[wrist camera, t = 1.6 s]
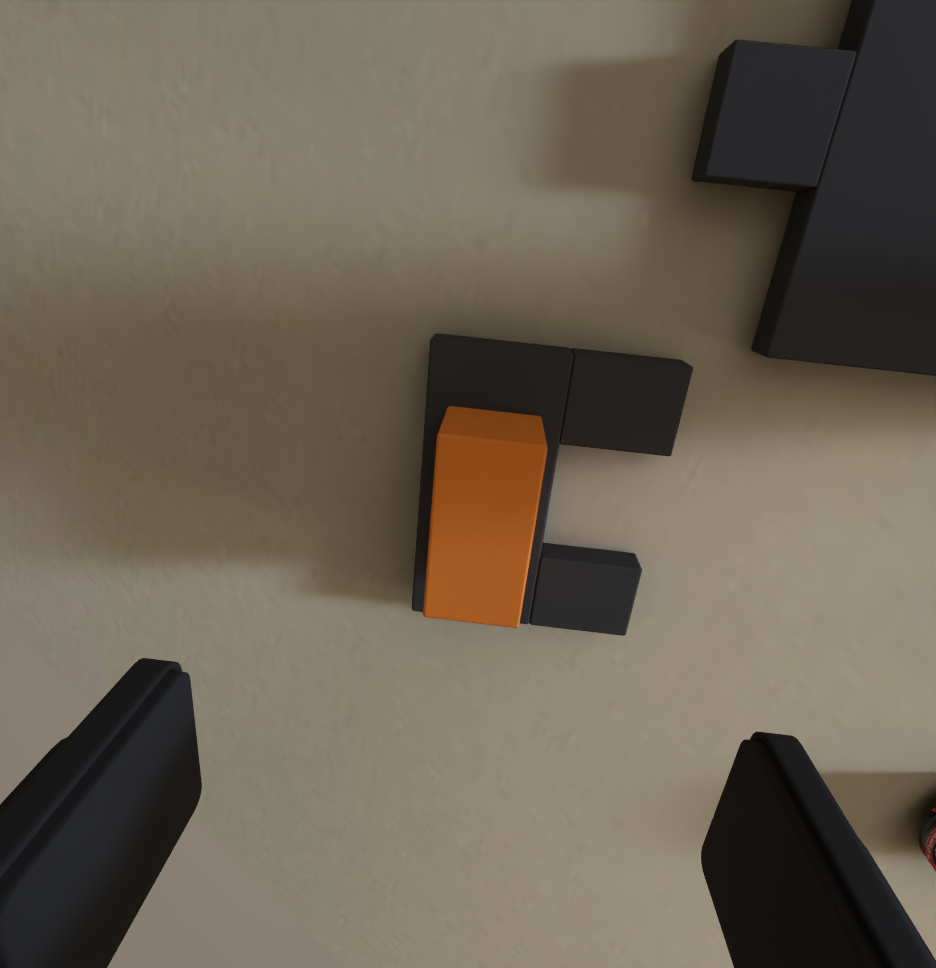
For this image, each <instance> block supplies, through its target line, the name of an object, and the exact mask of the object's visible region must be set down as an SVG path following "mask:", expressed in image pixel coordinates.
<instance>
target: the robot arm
mask: <svg viewBox="0 0 936 968" xmlns="http://www.w3.org/2000/svg"><path fill="white" fill-rule="evenodd" d="M201 789H202V783H201V774H200V764H199V755H198V746H197V737H196V728H195V719H194V710H193V700H192V691H191V682H190V676H189V674H188V673H187V672H182V669H181V666H180V664H179V663H178V662H172V661H164V660H156V659H147V658H142V659H140V660H138V661H137V662H136V663H135V664H134V665H133V666H132V667H131V668H130V669H129V670H128V671H127V672H126V674H125V675H124V676H123V677H122V678H121V679H120V680H119V681H118V682H117V683H116V685H115V686H114V687H113V688H112V689H111V690H110V691H109V692H108V693H107V694H106V696H105V697H104V698H103V699H102V700H101V701H100V702H99V703H98V704H97V706H96V707H95V708H94V709H93V710H92V711H91V712H90V713H89V714H88V715H87V717H86V718H85V719H84V720H83V721H82V722H81V723H80V724H79V725H78V727H77V728H76V729H75V730H74V731H73V732H72V733H71V734H70V735H69V736H68V737H67V738H65V739H63V740H61V741H60V742H59V743H58V744H56V745H55V746H54V747H53V748H52V749H51V750H50V751H49V752H48V753H47V754H46V755H45V756H44V758H43V759H42V760H41V761H40V762H39V763H38V764H37V765H36V766H35V767H34V768H33V770H32V771H31V772H30V773H29V774H28V775H27V776H26V777H25V778H24V779H23V781H22V782H21V783H20V784H19V785H18V786H17V787H16V788H15V789H14V790H13V791H12V792H11V793H10V795H9V796H8V797H7V798H6V799H5V800H4V801H3V802H2V803H1V805H0V968H107V966H108V965H109V963H110V961H111V960H112V958H113V956H114V954H115V952H116V951H117V949H118V947H119V945H120V943H121V942H122V940H123V938H124V936H125V934H126V933H127V931H128V929H129V927H130V925H131V924H132V922H133V920H134V918H135V917H136V915H137V913H138V911H139V909H140V908H141V906H142V904H143V902H144V900H145V899H146V897H147V895H148V893H149V891H150V890H151V888H152V886H153V884H154V883H155V881H156V879H157V877H158V875H159V873H160V872H161V870H162V868H163V866H164V865H165V863H166V861H167V859H168V857H169V856H170V854H171V852H172V850H173V848H174V846H175V845H176V843H177V841H178V840H179V838H180V836H181V834H182V832H183V831H184V829H185V827H186V825H187V823H188V822H189V820H190V818H191V816H192V814H193V813H194V811H195V809H196V807H197V804H198V802H199V799H200V795H201ZM701 862H702V869H703V873H704V876H705V879H706V882H707V885H708V888H709V891H710V895H711V898H712V901H713V904H714V907H715V910H716V913H717V916H718V919H719V922H720V925H721V928H722V932H723V935H724V938H725V941H726V944H727V947H728V950H729V953H730V956H731V959H732V962H733V965H734V968H936V960H935V958H934V957H933V955H932V954H931V952H930V950H929V949H928V947H927V945H926V944H925V942H924V940H923V939H922V937H921V936H920V934H919V932H918V931H917V929H916V927H915V926H914V924H913V923H912V921H911V919H910V918H909V916H908V914H907V913H906V911H905V910H904V908H903V906H902V905H901V903H900V901H899V900H898V898H897V897H896V895H895V893H894V892H893V890H892V888H891V887H890V885H889V884H888V882H887V880H886V879H885V877H884V875H883V874H882V872H881V870H880V869H879V867H878V866H877V864H876V862H875V861H874V859H873V857H872V856H871V854H870V853H869V851H868V849H867V848H866V847H865V845H864V844H863V843H862V841H861V840H860V839H859V838H858V836H857V835H856V833H855V832H854V830H853V828H852V827H851V825H850V823H849V822H848V820H847V818H846V817H845V815H844V814H843V812H842V810H841V809H840V807H839V805H838V804H837V802H836V800H835V799H834V797H833V795H832V794H831V792H830V791H829V789H828V787H827V786H826V784H825V782H824V781H823V779H822V777H821V776H820V774H819V773H818V771H817V769H816V768H815V766H814V764H813V763H812V761H811V759H810V758H809V756H808V755H807V753H806V751H805V750H804V748H803V746H802V745H801V743H800V742H799V741H798V740H797V739H796V738H795V737H793V736H789V735H781V734H773V733H764V732H755V733H754V734H753V735H752V737H751V738H750V740H743V741H742V743H741V744H740V747H739V749H738V752H737V755H736V758H735V760H734V763H733V766H732V768H731V771H730V774H729V776H728V779H727V782H726V784H725V787H724V790H723V792H722V795H721V798H720V801H719V803H718V806H717V809H716V811H715V814H714V817H713V819H712V822H711V825H710V827H709V830H708V833H707V835H706V838H705V841H704V844H703V846H702V852H701Z"/></svg>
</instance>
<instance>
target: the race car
mask: <svg viewBox="0 0 936 968" xmlns="http://www.w3.org/2000/svg"><path fill="white" fill-rule="evenodd" d="M919 844H920V848H921V850H922V852H923V853H924V855H925V856H926V857H927V859H928V861H929V862H930V863H931V865H932V866H933V868H934V870H935V871H936V806H935V807H934V808H933V809H932V810H931V812H930V813H929V814H928V815H927V817H926V818H925V820H924V821H923V823H922V826H921V828H920V831H919Z"/></svg>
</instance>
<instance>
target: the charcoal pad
mask: <svg viewBox="0 0 936 968" xmlns="http://www.w3.org/2000/svg"><path fill="white" fill-rule="evenodd" d="M692 180H693V181H699V182H709V183H719V184H729V185H739V186H748V187H758V188H768V189H778V190H787V191H797V193H796V197H795V200H794V204H793V207H792V211H791V214H790V217H789V221H788V224H787V228H786V231H785V235H784V238H783V242H782V245H781V249H780V252H779V256H778V259H777V262H776V266H775V269H774V273H773V276H772V280H771V283H770V287H769V290H768V294H767V297H766V301H765V304H764V308H763V311H762V314H761V318H760V321H759V325H758V328H757V332H756V335H755V339H754V342H753V346H752V351H753V352H756V353H758V354H760V355H763V356H765V357H768V358H777V359H787V360H796V361H805V362H814V363H824V364H833V365H842V366H851V367H861V368H870V369H879V370H888V371H898V372H907V373H916V374H925V375H935V376H936V0H852V3H851V6H850V10H849V13H848V17H847V20H846V24H845V27H844V31H843V34H842V37H841V41H840V44H839V48H838V49H829V48H819V47H808V46H798V45H788V44H778V43H767V42H757V41H747V40H735V41H734V42H733V43H732V44H731V45H729V46H728V47H727V48H726V49H725V50H724V51H723V52H722V53H721V54H720V55H719V58H718V62H717V67H716V71H715V76H714V80H713V85H712V89H711V94H710V98H709V103H708V107H707V112H706V116H705V121H704V125H703V130H702V134H701V139H700V143H699V148H698V152H697V157H696V161H695V166H694V170H693V175H692Z"/></svg>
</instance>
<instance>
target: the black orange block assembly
mask: <svg viewBox="0 0 936 968" xmlns="http://www.w3.org/2000/svg"><path fill="white" fill-rule="evenodd" d="M692 371H693V367H691V366H690V365H688V364H687V363H685V362H684V361H682V360H677V359H668V358H658V357H649V356H640V355H631V354H622V353H612V352H603V351H594V350H585V349H576V348H572V349H571V350H570V349H569V348H566V347H556V346H547V345H538V344H529V343H520V342H510V341H501V340H492V339H483V338H474V337H464V336H455V335H446V334H435V335H434V336H433V337H432V339H431V341H430V353H429V367H428V381H427V396H426V410H425V425H424V439H423V453H422V468H421V482H420V496H419V511H418V525H417V540H416V554H415V568H414V583H413V597H412V610H413V611H420V612H423V615H424V616H425V617H430V618H438V619H447V620H455V621H463V622H472V623H480V624H489V625H497V626H506V627H514V628H517V627H518V626H519V623H521V624H528V623H530V624H531V625H539V626H547V627H555V628H564V629H572V630H581V631H589V632H598V633H606V634H614V635H623V636H624V635H626V631H627V627H628V624H629V620H630V616H631V612H632V608H633V604H634V600H635V596H636V592H637V588H638V584H639V580H640V576H641V572H642V569H641V566H640V564H639V562H638V559H637V557H636V555H635V554H634V553H626V552H618V551H609V550H600V549H592V548H583V547H575V546H566V545H557V544H549V543H543V537H544V531H545V525H546V519H547V513H548V508H549V502H550V496H551V490H552V484H553V478H554V472H555V466H556V460H557V454H558V448H559V442H560V444H564V445H573V446H582V447H591V448H600V449H609V450H618V451H627V452H636V453H644V454H653V455H662V456H671V454H672V450H673V446H674V442H675V438H676V434H677V430H678V426H679V422H680V418H681V414H682V410H683V406H684V402H685V398H686V394H687V390H688V386H689V382H690V378H691V374H692Z"/></svg>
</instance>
